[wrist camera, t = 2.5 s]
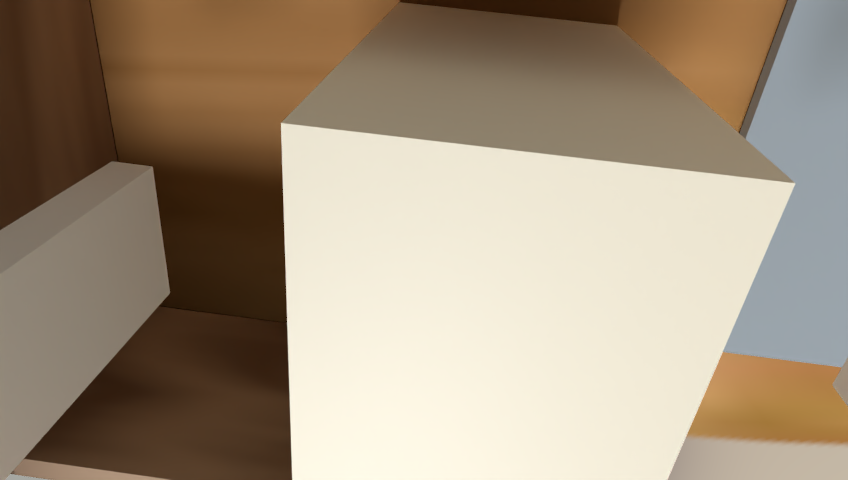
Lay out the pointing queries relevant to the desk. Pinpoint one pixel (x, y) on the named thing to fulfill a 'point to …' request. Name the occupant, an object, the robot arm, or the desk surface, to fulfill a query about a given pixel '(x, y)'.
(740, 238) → the cream block
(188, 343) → the crate
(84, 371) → the robot arm
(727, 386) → the desk surface
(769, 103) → the felt pad
